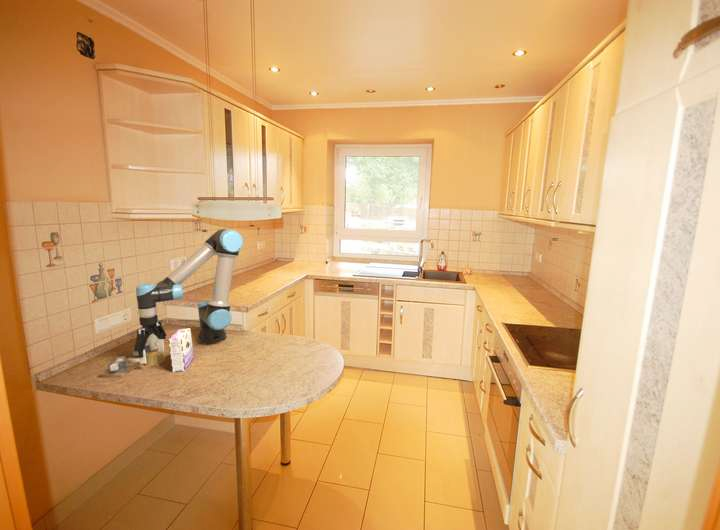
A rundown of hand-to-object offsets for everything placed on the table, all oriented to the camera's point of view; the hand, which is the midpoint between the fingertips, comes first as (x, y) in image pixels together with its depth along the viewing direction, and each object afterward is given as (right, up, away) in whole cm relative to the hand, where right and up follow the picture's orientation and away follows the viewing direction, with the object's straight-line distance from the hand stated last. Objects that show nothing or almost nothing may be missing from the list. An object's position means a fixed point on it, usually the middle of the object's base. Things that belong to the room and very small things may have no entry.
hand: (152, 357), depth 166 cm
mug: (-14, -1, +20) cm, 24 cm away
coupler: (0, -3, +1) cm, 3 cm away
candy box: (+16, -4, -2) cm, 17 cm away
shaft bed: (-12, -4, +1) cm, 12 cm away
